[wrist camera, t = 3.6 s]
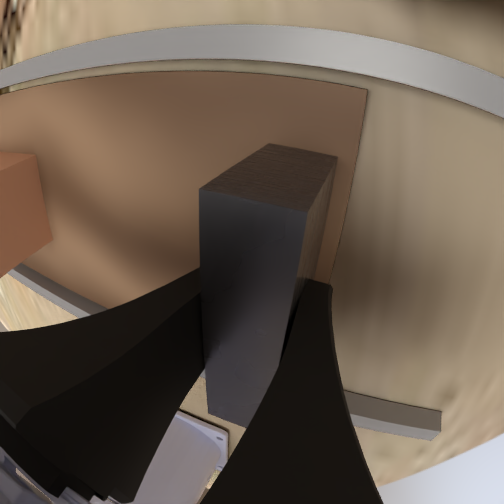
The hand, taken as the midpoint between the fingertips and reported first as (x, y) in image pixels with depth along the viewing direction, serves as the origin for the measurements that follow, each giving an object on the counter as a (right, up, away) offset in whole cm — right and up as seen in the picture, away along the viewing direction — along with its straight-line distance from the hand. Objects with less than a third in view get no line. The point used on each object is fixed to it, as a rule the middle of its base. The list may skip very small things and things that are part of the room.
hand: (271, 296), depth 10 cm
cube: (-14, +5, +5) cm, 16 cm away
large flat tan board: (-9, +4, +5) cm, 11 cm away
